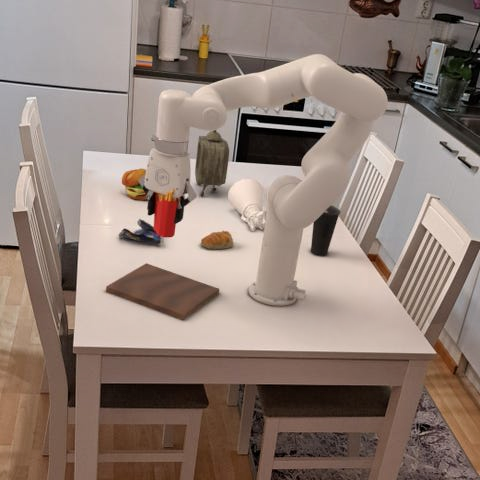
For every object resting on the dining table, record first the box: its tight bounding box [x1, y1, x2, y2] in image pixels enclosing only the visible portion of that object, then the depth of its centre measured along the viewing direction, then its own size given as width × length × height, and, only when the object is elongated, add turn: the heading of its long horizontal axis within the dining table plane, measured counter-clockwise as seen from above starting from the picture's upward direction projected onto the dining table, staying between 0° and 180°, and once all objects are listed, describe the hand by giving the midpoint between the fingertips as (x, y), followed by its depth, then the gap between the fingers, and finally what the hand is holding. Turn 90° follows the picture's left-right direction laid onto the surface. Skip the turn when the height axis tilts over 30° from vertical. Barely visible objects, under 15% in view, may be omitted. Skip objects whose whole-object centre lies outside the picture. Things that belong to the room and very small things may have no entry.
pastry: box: [200, 230, 234, 250], centre depth 230 cm, size 9×7×4 cm
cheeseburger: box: [121, 167, 148, 201], centre depth 257 cm, size 10×11×10 cm
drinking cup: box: [310, 204, 341, 257], centre depth 232 cm, size 8×8×20 cm
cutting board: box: [105, 263, 220, 321], centre depth 200 cm, size 22×18×2 cm
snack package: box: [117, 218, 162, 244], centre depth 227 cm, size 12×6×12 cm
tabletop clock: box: [194, 130, 230, 197], centre depth 265 cm, size 14×9×25 cm, turn 6°
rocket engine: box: [227, 178, 266, 232], centre depth 250 cm, size 12×12×18 cm
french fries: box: [153, 189, 178, 239], centre depth 192 cm, size 9×4×13 cm, turn 21°
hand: (164, 217), depth 193 cm, fingers closed on french fries, 6 cm apart
